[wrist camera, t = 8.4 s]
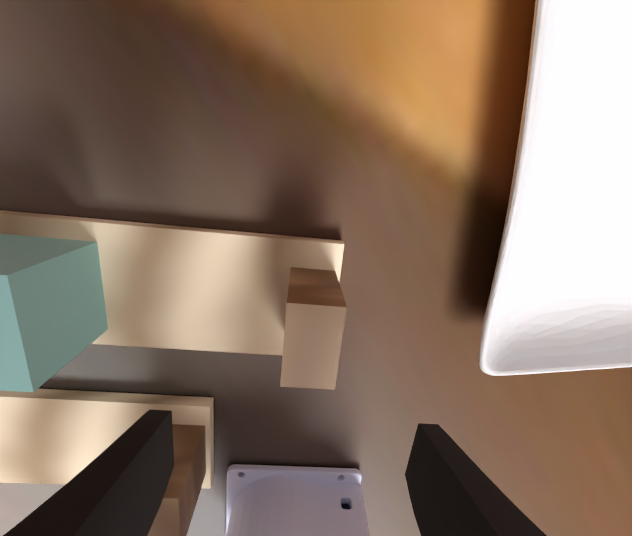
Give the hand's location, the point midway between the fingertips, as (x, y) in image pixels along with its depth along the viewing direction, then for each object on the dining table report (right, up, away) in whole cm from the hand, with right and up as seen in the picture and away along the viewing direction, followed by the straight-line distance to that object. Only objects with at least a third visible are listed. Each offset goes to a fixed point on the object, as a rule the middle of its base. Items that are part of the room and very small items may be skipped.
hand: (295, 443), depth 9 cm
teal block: (-13, +4, +7) cm, 16 cm away
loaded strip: (-8, +4, +8) cm, 12 cm away
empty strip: (-16, -6, +11) cm, 21 cm away
